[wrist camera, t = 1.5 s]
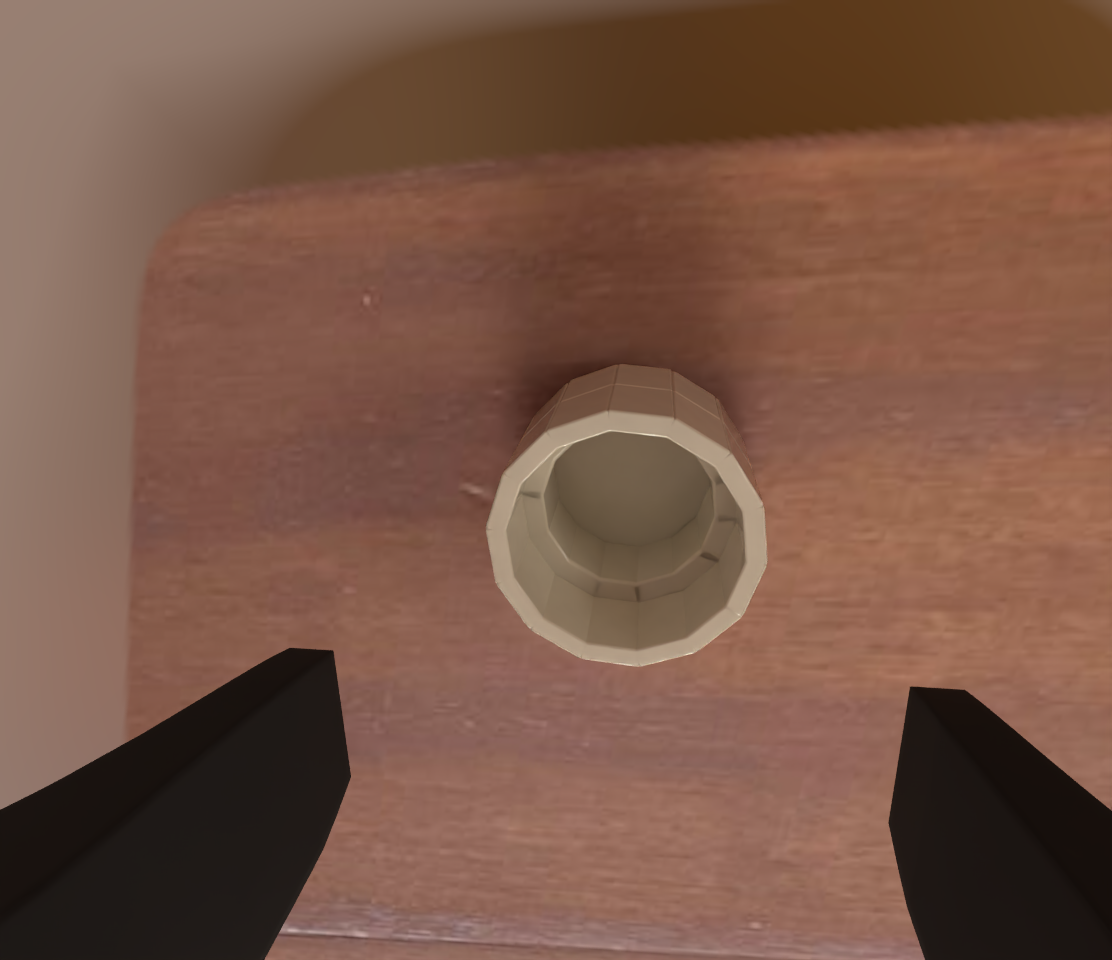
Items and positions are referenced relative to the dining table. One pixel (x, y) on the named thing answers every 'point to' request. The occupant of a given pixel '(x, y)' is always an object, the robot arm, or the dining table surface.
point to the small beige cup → (629, 519)
